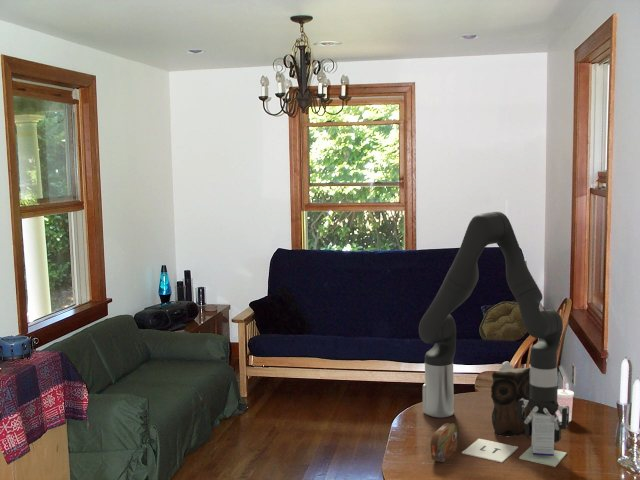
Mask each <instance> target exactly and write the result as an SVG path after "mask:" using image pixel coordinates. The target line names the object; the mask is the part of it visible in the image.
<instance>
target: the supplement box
mask: <svg viewBox="0 0 640 480" xmlns="http://www.w3.org/2000/svg"><path fill="white" fill-rule="evenodd" d="M552 417H553V419H554V420H555V416H554V415H552ZM554 430H555V428H554V422H551V416H547V415H546V414H541V413H533V418H532V435H531V444H530V445H531V446H530V447H531V449H532V454H533V455H544V456H554V450H555V442H554Z"/></svg>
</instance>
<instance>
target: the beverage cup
mask: <svg viewBox="0 0 640 480" xmlns="http://www.w3.org/2000/svg"><path fill="white" fill-rule="evenodd" d="M562 377H563V378H562V388H558V393H557V402H558V405H559V406H563V407H565V406H568V407H569V423H570V422H571V421H572V418H573V417H572V415H573V402H574V400H573V399H574V396H575V392H574V391H572V390H571V389H566V384H565V383H566V377H565V376H562ZM556 414H557V416H558V418H559V421H560V422H561V423H562V414H560V411H559V410H557V411H556Z"/></svg>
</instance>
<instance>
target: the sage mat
mask: <svg viewBox="0 0 640 480" xmlns="http://www.w3.org/2000/svg"><path fill="white" fill-rule="evenodd" d="M567 453H568V452H567V451H565V452H564V451H561V450H556V449H554V456H544V455H533V454H532V449H531V446H529V447H528V448H527V449H526V450H525V451H524V452H523V453H522V454H521V455H520V456H519V457H518V459H519V460H523V461H528V462H531V463H537V464H541V465H545V466H550V467H554V468H556V466H557V465H558V464H559V463H560V462H561V461H562V460H563V459H564V458H565V457H566V455H567Z"/></svg>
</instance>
